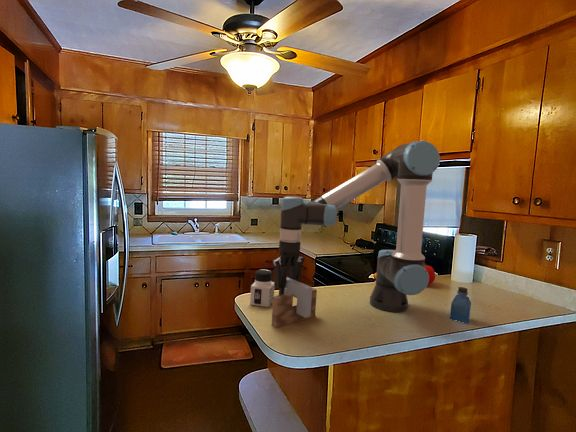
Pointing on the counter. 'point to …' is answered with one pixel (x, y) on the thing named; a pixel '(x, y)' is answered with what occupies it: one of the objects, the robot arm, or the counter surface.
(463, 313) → the perfume bottle
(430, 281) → the tomato
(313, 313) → the board
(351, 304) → the counter surface
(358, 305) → the counter surface
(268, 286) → the container
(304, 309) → the arch block
